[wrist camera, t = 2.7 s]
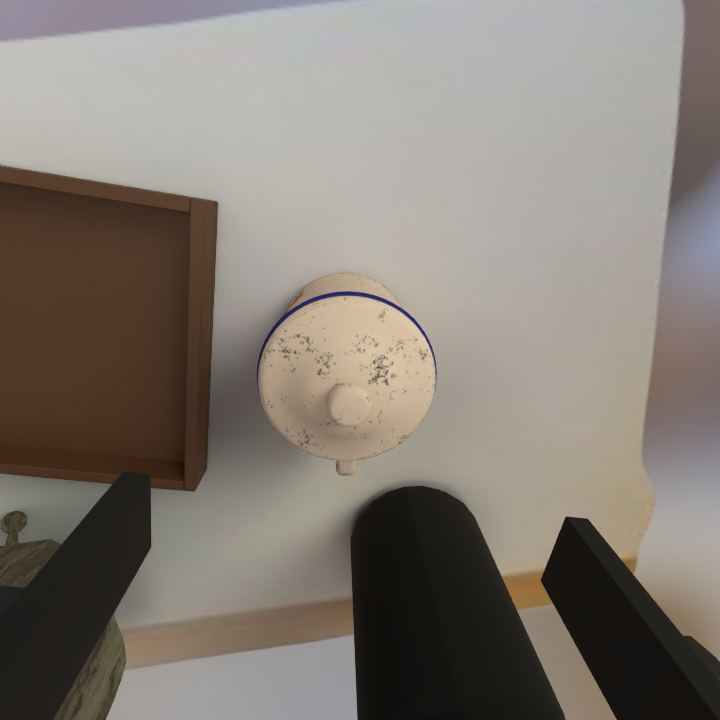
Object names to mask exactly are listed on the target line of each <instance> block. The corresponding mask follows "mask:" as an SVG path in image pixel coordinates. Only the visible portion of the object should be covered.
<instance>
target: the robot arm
mask: <svg viewBox="0 0 720 720" xmlns="http://www.w3.org/2000/svg"><path fill="white" fill-rule="evenodd" d="M150 548H151V479H150V474H146V473H136V472H126V471H123V472H122V474H121V475H120V476H119V477H118V478H117V480H116V481H115V482H114V483H113V484H112V486H111V487H110V488H109V489H108V490H107V491H106V493H105V494H104V495H103V496H102V497H101V499H100V500H99V501H98V502H97V503H96V505H95V506H94V507H93V508H92V509H91V510H90V512H89V513H88V514H87V515H86V516H85V518H84V519H83V520H82V521H81V522H80V524H79V525H78V526H77V527H76V528H75V529H74V531H73V532H72V533H71V534H70V535H69V537H68V538H67V539H66V540H65V541H64V543H63V544H62V545H61V546H60V547H59V548H58V550H57V551H56V552H55V553H54V554H53V556H52V557H51V558H50V559H49V560H48V562H47V563H46V564H45V565H44V566H43V567H42V569H41V570H40V571H39V572H38V573H37V575H36V576H35V577H34V578H33V579H32V581H31V582H30V583H29V584H28V585H27V587H26V588H23V587H10V586H0V720H53V719H54V718H55V716H56V714H57V712H58V710H59V709H60V707H61V705H62V703H63V702H64V700H65V698H66V696H67V695H68V693H69V691H70V689H71V688H72V686H73V684H74V682H75V680H76V679H77V677H78V675H79V673H80V672H81V670H82V668H83V666H84V665H85V663H86V661H87V659H88V658H89V656H90V654H91V652H92V651H93V649H94V647H95V645H96V643H97V642H98V640H99V638H100V636H101V635H102V633H103V631H104V629H105V628H106V626H107V624H108V622H109V621H110V619H111V617H112V615H113V613H114V612H115V610H116V608H117V606H118V605H119V603H120V601H121V599H122V598H123V596H124V594H125V592H126V591H127V589H128V587H129V585H130V583H131V582H132V580H133V578H134V576H135V575H136V573H137V571H138V569H139V568H140V566H141V564H142V562H143V561H144V559H145V557H146V555H147V554H148V552H149V550H150ZM541 582H542V584H543V586H544V588H545V589H546V591H547V593H548V595H549V597H550V599H551V600H552V602H553V604H554V606H555V608H556V609H557V611H558V613H559V615H560V616H561V618H562V620H563V622H564V624H565V626H566V628H567V630H568V631H569V633H570V635H571V637H572V639H573V640H574V642H575V644H576V646H577V648H578V650H579V651H580V653H581V655H582V657H583V659H584V661H585V662H586V664H587V666H588V668H589V670H590V671H591V673H592V675H593V676H594V679H595V680H596V682H597V684H598V686H599V688H600V690H601V692H602V693H603V695H604V697H605V699H606V701H607V702H608V704H609V706H610V708H611V710H612V712H613V713H614V715H615V717H616V719H617V720H720V662H719V661H718V660H717V658H716V657H715V656H713V655H712V654H711V653H710V652H709V651H708V650H706V649H705V648H704V647H703V646H702V645H701V644H699V643H698V642H697V641H696V640H695V639H694V638H692V637H691V636H683V635H682V634H681V633H680V632H679V630H678V629H677V628H676V627H675V625H674V624H673V623H672V622H671V621H670V619H669V618H668V617H667V616H666V614H665V613H664V612H663V611H662V609H661V608H660V607H659V606H658V605H657V603H656V602H655V601H654V600H653V598H652V597H651V596H650V595H649V593H648V592H647V591H646V590H645V589H644V587H643V586H642V585H641V584H640V582H639V581H638V580H637V579H636V578H635V576H634V575H633V574H632V573H631V571H630V570H629V569H628V568H627V566H626V565H625V564H624V563H623V562H622V560H621V559H620V558H619V557H618V555H617V554H616V553H615V552H614V550H613V549H612V548H611V547H610V546H609V544H608V543H607V542H606V541H605V539H604V538H603V537H602V536H601V535H600V533H599V532H598V531H597V530H596V528H595V527H594V526H593V525H592V523H591V522H590V521H589V520H588V519H585V518H575V517H565V520H564V522H563V525H562V528H561V530H560V533H559V535H558V538H557V540H556V543H555V545H554V548H553V550H552V553H551V555H550V558H549V560H548V563H547V566H546V568H545V571H544V573H543V576H542V578H541Z"/></svg>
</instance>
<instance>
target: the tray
mask: <svg viewBox="0 0 720 720" xmlns="http://www.w3.org/2000/svg"><path fill="white" fill-rule="evenodd" d="M217 212H218V202H217V201H211V200H205V199H199V198H193V197H187V196H181V195H175V194H169V193H163V192H157V191H151V190H145V189H139V188H133V187H127V186H121V185H115V184H109V183H103V182H97V181H91V180H85V179H79V178H73V177H67V176H61V175H55V174H49V173H43V172H37V171H31V170H25V169H19V168H13V167H7V166H1V165H0V473H1V474H12V475H22V476H33V477H43V478H54V479H65V480H75V481H86V482H97V483H107V484H113V483H114V482H115V481H116V480H117V478H118V477H119V476H120V475H121V474H122V472H123V471H126V472H136V473H146V474H150V479H151V488H160V489H171V490H182V491H183V490H185V491H196V489H197V487H198V485H199V483H200V481H201V479H202V477H203V475H204V473H205V471H206V469H207V448H208V425H209V401H210V377H211V354H212V330H213V306H214V283H215V259H216V235H217Z"/></svg>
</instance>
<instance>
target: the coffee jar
mask: <svg viewBox="0 0 720 720" xmlns="http://www.w3.org/2000/svg"><path fill="white" fill-rule="evenodd" d="M350 540H351V570H352V594H353V619H354V643H355V667H356V691H357V715H358V720H565V716H564V713H563V711H562V709H561V707H560V704H559V702H558V700H557V698H556V696H555V693H554V691H553V689H552V687H551V685H550V682H549V680H548V678H547V676H546V674H545V672H544V669H543V667H542V665H541V663H540V660H539V658H538V656H537V654H536V652H535V649H534V647H533V645H532V643H531V641H530V639H529V636H528V634H527V632H526V630H525V627H524V625H523V623H522V621H521V619H520V616H519V614H518V612H517V610H516V607H515V605H514V603H513V601H512V599H511V596H510V594H509V592H508V590H507V588H506V585H505V583H504V581H503V579H502V577H501V574H500V572H499V570H498V568H497V566H496V563H495V561H494V559H493V557H492V555H491V552H490V550H489V548H488V546H487V544H486V541H485V539H484V537H483V535H482V533H481V530H480V528H479V526H478V524H477V521H476V519H475V517H474V516H473V514H472V513H471V512H470V511H469V509H468V508H467V507H466V506H465V504H464V503H463V502H461V501H460V500H458V499H456V498H455V497H453V496H451V495H450V494H448V493H446V492H444V491H440V490H437V489H433V488H429V487H425V486H414V487H403V488H400V489H397V490H394V491H390V492H388V493H386V494H384V495H383V496H381V497H380V498H378V499H377V500H375V501H374V502H373V503H372V504H370V505H369V507H368V508H367V509H366V510H365V511H364V512H363V514H362V515H361V516H360V517H359V518H358V520H357V522H356V525H355V527H354V530H353V533H352V535H351V538H350Z"/></svg>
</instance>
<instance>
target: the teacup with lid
mask: <svg viewBox="0 0 720 720" xmlns="http://www.w3.org/2000/svg"><path fill="white" fill-rule="evenodd" d="M436 375H437V371H436V362H435V356H434V353H433V349H432V347H431V344H430V342H429V340H428V338H427V336H426V334H425V332H424V331H423V330H422V328H421V327H420V325H419V324H418V323H417V322H416V321H415V319H414V318H413V317H411V316H410V315H409V314H408V313H407V312H406V311H404V310H403V309H402V308H401V306H400V305H399V303H398V302H397V300H396V299H395V298H394V296H393V295H392V294H391V293H390V292H389V291H388V290H387V289H386V288H385V287H383V286H382V285H381V284H379V283H377V282H376V281H374V280H372V279H370V278H367V277H364V276H361V275H356V274H348V273H341V274H332V275H328V276H325V277H322V278H319V279H317V280H315V281H313V282H311V283H310V284H308V285H307V286H305V287H304V288H303V289H302V290H301V291H300V292H299V293H298V294H297V295H296V296H295V297H294V298H293V300H292V301H291V303H290V305H289V306H288V308H287V310H286V312H285V314H284V316H283V317H282V318H281V319H280V320H279V321H278V322H277V324H276V325H275V326H274V327H273V329H272V330H271V331H270V333H269V335H268V336H267V338H266V340H265V342H264V344H263V347H262V349H261V352H260V355H259V360H258V365H257V386H258V392H259V396H260V400H261V403H262V405H263V408H264V410H265V412H266V414H267V416H268V418H269V419H270V421H271V423H272V424H273V425H274V427H275V428H276V429H277V430H278V431H279V433H280V434H281V435H282V436H283V437H285V438H286V439H287V440H288V441H289V442H291V443H292V444H293V445H295V446H296V447H298V448H300V449H301V450H303V451H306V452H308V453H310V454H312V455H315V456H318V457H322V458H326V459H331V460H336V471H337V473H338V474H339V475H341V476H350V475H353V474H354V473H355V472H356V469H357V460H361V459H366V458H371V457H374V456H377V455H380V454H382V453H384V452H387V451H389V450H390V449H392V448H394V447H396V446H397V445H399V444H400V443H402V442H403V441H404V440H405V439H407V438H408V437H409V436H410V435H411V434H412V433H413V432H414V431H415V430H416V429H417V427H418V426H419V425H420V423H421V422H422V421H423V419H424V417H425V416H426V414H427V412H428V410H429V408H430V405H431V402H432V399H433V396H434V392H435V387H436Z"/></svg>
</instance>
